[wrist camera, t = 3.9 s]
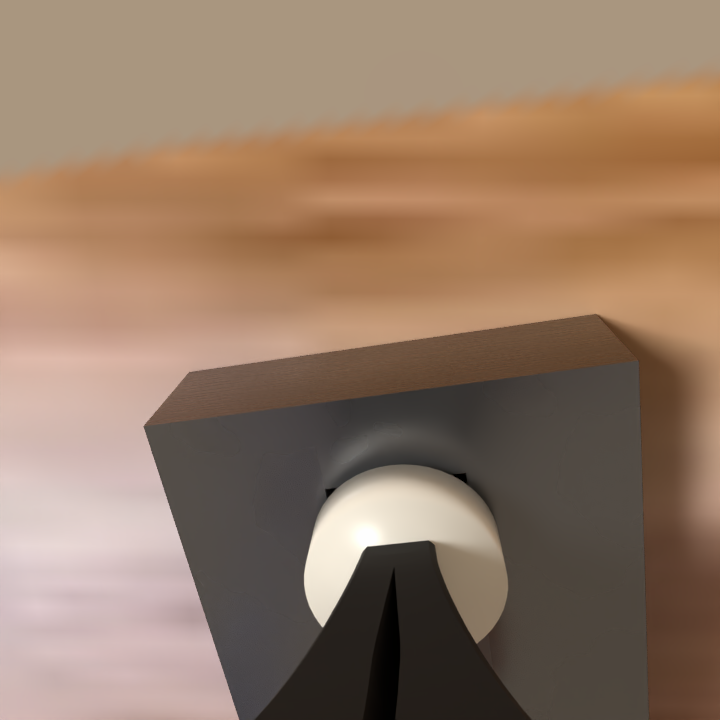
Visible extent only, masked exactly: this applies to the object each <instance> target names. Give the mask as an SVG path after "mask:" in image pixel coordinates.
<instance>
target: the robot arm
mask: <svg viewBox="0 0 720 720" xmlns="http://www.w3.org/2000/svg"><path fill="white" fill-rule="evenodd" d="M254 720H532V719H531V718H530V717H529V716H528V715H527V713H526V712H525V711H524V710H523V709H522V708H521V706H520V705H519V704H518V703H517V701H516V700H515V699H514V697H513V696H512V695H511V693H510V692H509V691H508V689H507V688H506V687H505V685H504V684H503V683H502V681H501V680H500V679H499V677H498V676H497V674H496V673H495V671H494V670H493V669H492V667H491V666H490V664H489V663H488V661H487V660H486V658H485V657H484V655H483V653H482V652H481V650H480V649H479V647H478V646H477V644H476V642H475V640H474V639H473V637H472V635H471V634H470V632H469V630H468V629H467V627H466V625H465V623H464V621H463V619H462V618H461V616H460V614H459V612H458V610H457V608H456V606H455V604H454V602H453V600H452V598H451V595H450V593H449V591H448V589H447V586H446V584H445V582H444V579H443V576H442V574H441V571H440V568H439V565H438V561H437V555H436V549H435V545H434V544H433V543H432V542H430V541H429V540H426V541H416V542H407V543H397V544H387V545H377V546H367V547H366V548H365V550H364V551H363V552H362V554H361V556H360V559H359V561H358V563H357V565H356V568H355V570H354V572H353V574H352V576H351V578H350V580H349V582H348V584H347V586H346V588H345V590H344V592H343V593H342V595H341V597H340V599H339V601H338V602H337V604H336V606H335V608H334V609H333V611H332V613H331V615H330V617H329V618H328V620H327V622H326V623H325V625H324V627H323V628H322V630H321V631H320V633H319V634H318V636H317V638H316V639H315V641H314V642H313V644H312V645H311V647H310V648H309V650H308V651H307V653H306V654H305V656H304V657H303V659H302V660H301V662H300V663H299V665H298V666H297V667H296V669H295V670H294V672H293V673H292V674H291V676H290V677H289V678H288V680H287V681H286V682H285V683H284V685H283V686H282V687H281V688H280V690H279V691H278V692H277V694H276V695H275V696H274V697H273V699H272V700H271V701H270V702H269V703H268V704H267V706H266V707H265V708H264V709H263V710H262V711H261V712H260V714H259V715H258V716H257V717H256V718H255V719H254Z"/></svg>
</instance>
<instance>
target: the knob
mask: <svg viewBox="0 0 720 720" xmlns="http://www.w3.org/2000/svg"><path fill="white" fill-rule="evenodd" d="M426 540H429V541H430V542H432V543H433V544H434V545H435V549H436V555H437V561H438V565H439V568H440V571H441V574H442V576H443V579H444V582H445V584H446V586H447V589H448V591H449V593H450V595H451V598H452V600H453V602H454V604H455V606H456V608H457V610H458V612H459V614H460V616H461V618H462V619H463V621H464V623H465V625H466V627H467V629H468V630H469V632H470V634H471V635H472V637H473V639H474V640H475V642H476V644H477V643H478V642H479V641H481V640H482V639H483V638H484V637H485V636H486V635H487V634H488V633H489V632H490V631H491V630H492V629H493V627H494V626H495V624H496V623H497V621H498V620H499V618H500V616H501V614H502V612H503V610H504V606H505V603H506V600H507V593H508V577H507V572H506V567H505V562H504V557H503V553H502V548H501V543H500V538H499V534H498V529H497V525H496V522H495V520H494V517H493V515H492V513H491V511H490V509H489V507H488V506H487V505H486V503H485V502H484V501H483V499H482V498H481V497H480V496H479V495H478V494H477V493H476V492H475V491H474V490H473V489H472V488H471V487H469V486H468V485H467V484H465V483H464V482H463V481H461V480H459V479H457V478H456V477H454V476H452V475H450V474H447V473H445V472H443V471H440V470H437V469H433V468H430V467H425V466H419V465H406V464H401V465H388V466H383V467H377V468H374V469H371V470H368V471H365V472H363V473H360V474H358V475H356V476H354V477H352V478H351V479H349V480H347V481H346V482H344V483H343V484H342V485H341V486H339V487H338V488H337V489H336V490H335V491H334V492H333V493H332V494H331V495H330V496H329V497H328V499H327V500H326V501H325V503H324V504H323V506H322V508H321V510H320V512H319V514H318V516H317V519H316V522H315V526H314V530H313V534H312V539H311V543H310V548H309V552H308V556H307V561H306V565H305V572H304V587H305V593H306V598H307V601H308V604H309V607H310V608H311V610H312V612H313V614H314V616H315V618H316V619H317V621H318V622H319V623H320V625H321V626H322V627H324V625H325V623H326V622H327V620H328V618H329V617H330V615H331V613H332V611H333V609H334V608H335V606H336V604H337V602H338V601H339V599H340V597H341V595H342V593H343V592H344V590H345V588H346V586H347V584H348V582H349V580H350V578H351V576H352V574H353V572H354V570H355V568H356V565H357V563H358V561H359V559H360V556H361V554H362V552H363V551H364V550H365V548H366V547H367V546H377V545H387V544H397V543H407V542H416V541H426Z"/></svg>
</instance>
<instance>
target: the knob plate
mask: <svg viewBox="0 0 720 720" xmlns="http://www.w3.org/2000/svg"><path fill="white" fill-rule="evenodd" d="M144 429H145V432H146V435H147V438H148V441H149V444H150V447H151V451H152V454H153V457H154V460H155V463H156V466H157V469H158V472H159V475H160V478H161V481H162V484H163V487H164V490H165V493H166V496H167V500H168V503H169V506H170V509H171V512H172V515H173V518H174V521H175V524H176V527H177V530H178V533H179V536H180V539H181V542H182V546H183V549H184V552H185V555H186V558H187V561H188V564H189V567H190V570H191V573H192V576H193V579H194V582H195V585H196V588H197V591H198V595H199V598H200V601H201V604H202V607H203V610H204V613H205V616H206V619H207V622H208V625H209V628H210V631H211V634H212V637H213V641H214V644H215V647H216V650H217V653H218V656H219V659H220V662H221V665H222V668H223V671H224V674H225V677H226V680H227V683H228V686H229V690H230V693H231V696H232V699H233V702H234V705H235V708H236V711H237V714H238V717H239V720H254V719H255V718H256V717H257V716H258V715H259V714H260V712H261V711H262V710H263V709H264V708H265V707H266V706H267V704H268V703H269V702H270V701H271V700H272V699H273V697H274V696H275V695H276V694H277V692H278V691H279V690H280V688H281V687H282V686H283V685H284V683H285V682H286V681H287V680H288V678H289V677H290V676H291V674H292V673H293V672H294V670H295V669H296V667H297V666H298V665H299V663H300V662H301V660H302V659H303V657H304V656H305V654H306V653H307V651H308V650H309V648H310V647H311V645H312V644H313V642H314V641H315V639H316V638H317V636H318V634H319V633H320V631H321V630H322V628H323V627H322V626H321V625H320V623H319V622H318V621H317V619H316V618H315V616H314V614H313V612H312V610H311V608H310V607H309V604H308V601H307V598H306V593H305V587H304V572H305V565H306V561H307V556H308V552H309V548H310V543H311V539H312V534H313V530H314V526H315V522H316V519H317V516H318V514H319V512H320V510H321V508H322V506H323V504H324V503H325V501H326V500H327V499H328V497H329V496H330V495H331V494H332V493H333V492H334V491H335V490H336V489H337V488H338V487H339V486H341V485H342V484H343V483H344V482H346V481H347V480H349V479H351V478H352V477H354V476H356V475H358V474H360V473H363V472H365V471H368V470H371V469H374V468H377V467H383V466H388V465H401V464H406V465H419V466H425V467H430V468H433V469H437V470H440V471H443V472H445V473H447V474H450V475H452V474H461V473H465V477H466V484H467V485H468V486H469V487H471V488H472V489H473V490H474V491H475V492H476V493H477V494H478V495H479V496H480V497H481V498H482V499H483V501H484V502H485V503H486V505H487V506H488V507H489V509H490V511H491V513H492V515H493V517H494V520H495V522H496V525H497V529H498V534H499V538H500V543H501V548H502V553H503V557H504V562H505V567H506V572H507V577H508V593H507V600H506V603H505V606H504V610H503V612H502V614H501V616H500V618H499V620H498V621H497V623H496V624H495V626H494V627H493V629H492V630H491V631H490V632H489V633H488V634H487V635H486V636H485V637H484V638H483V639H482V640H481V641H479V642H478V643H477V646H478V647H479V649H480V650H481V652H482V653H483V655H484V657H485V658H486V660H487V661H488V663H489V664H490V666H491V667H492V669H493V670H494V671H495V673H496V674H497V676H498V677H499V679H500V680H501V681H502V683H503V684H504V685H505V687H506V688H507V689H508V691H509V692H510V693H511V695H512V696H513V697H514V699H515V700H516V701H517V703H518V704H519V705H520V706H521V708H522V709H523V710H524V711H525V712H526V713H527V715H528V716H529V717H530V718H531V719H532V720H649V703H648V667H647V632H646V596H645V561H644V525H643V489H642V454H641V418H640V382H639V360H638V359H637V358H636V357H635V356H634V355H633V354H632V353H631V351H630V350H629V349H628V348H627V347H626V346H625V345H624V344H623V343H622V342H621V341H620V340H619V338H618V337H617V336H616V335H615V334H614V333H613V332H612V331H611V330H610V329H609V328H608V326H607V325H606V324H605V323H604V322H603V321H602V320H601V319H600V318H599V317H598V316H597V315H596V314H594V315H587V316H580V317H573V318H566V319H559V320H552V321H545V322H538V323H531V324H524V325H517V326H510V327H503V328H496V329H489V330H482V331H475V332H468V333H461V334H454V335H447V336H440V337H433V338H426V339H419V340H412V341H405V342H398V343H391V344H384V345H377V346H370V347H363V348H356V349H349V350H342V351H335V352H328V353H321V354H314V355H307V356H300V357H293V358H286V359H279V360H272V361H265V362H258V363H251V364H244V365H237V366H230V367H223V368H216V369H209V370H202V371H195V372H189V373H188V374H187V375H186V377H185V378H184V379H183V380H182V381H181V383H180V384H179V385H178V386H177V387H176V389H175V390H174V391H173V392H172V393H171V394H170V396H169V397H168V398H167V399H166V400H165V402H164V403H163V404H162V405H161V406H160V407H159V409H158V410H157V411H156V412H155V413H154V415H153V416H152V417H151V418H150V419H149V421H148V422H147V423H146V424H145V425H144Z"/></svg>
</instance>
